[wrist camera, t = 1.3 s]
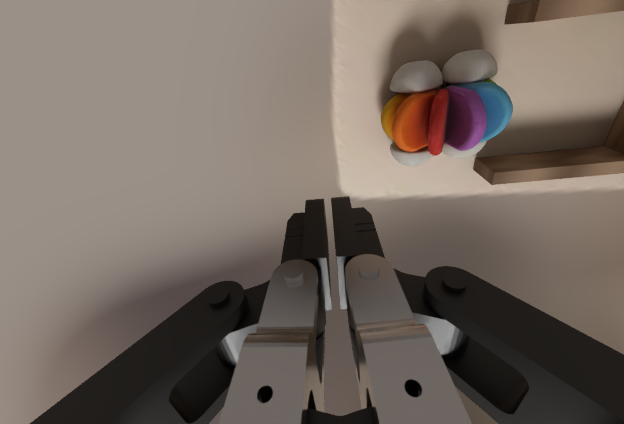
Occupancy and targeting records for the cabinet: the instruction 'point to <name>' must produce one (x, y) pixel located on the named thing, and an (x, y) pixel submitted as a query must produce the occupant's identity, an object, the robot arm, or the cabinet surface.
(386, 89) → the cabinet surface
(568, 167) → the bay
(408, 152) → the rainbow disc stack
